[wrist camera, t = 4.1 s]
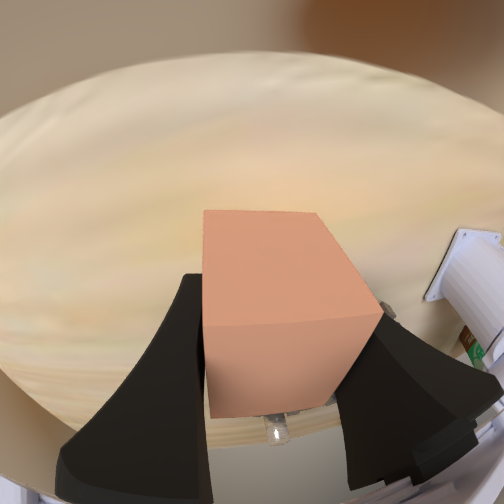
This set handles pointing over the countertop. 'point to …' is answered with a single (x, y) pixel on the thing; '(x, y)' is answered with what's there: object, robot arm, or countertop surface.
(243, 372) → the link block
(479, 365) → the food container
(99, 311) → the countertop surface
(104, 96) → the countertop surface
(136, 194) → the countertop surface
